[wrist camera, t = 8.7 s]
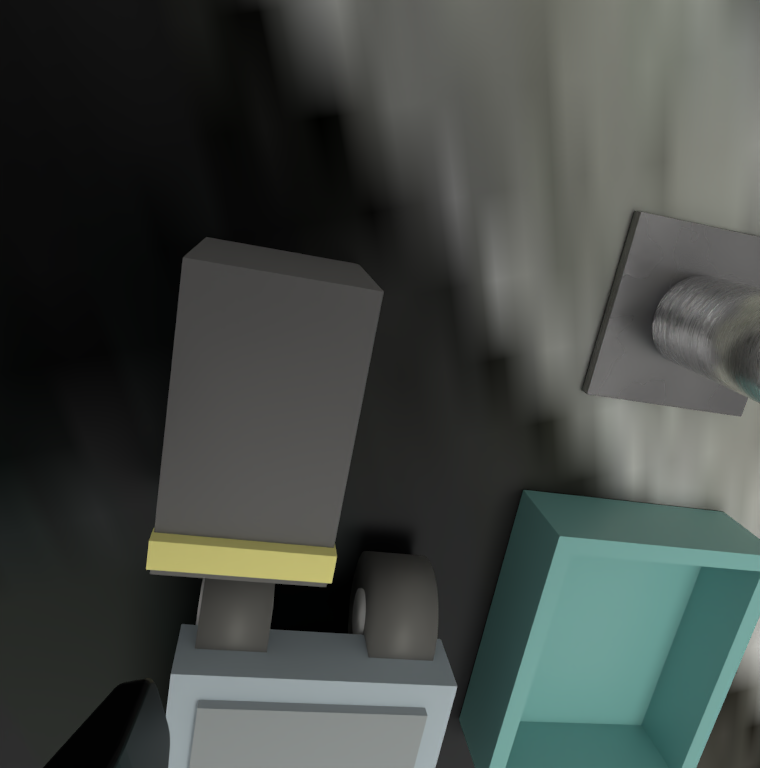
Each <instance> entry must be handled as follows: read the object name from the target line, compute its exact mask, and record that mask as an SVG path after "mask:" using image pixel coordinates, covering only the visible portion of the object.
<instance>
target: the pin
mask: <svg viewBox="0 0 760 768" xmlns="http://www.w3.org/2000/svg"><path fill="white" fill-rule="evenodd" d="M652 334H653V339H654V343H655V345H656V347H657V349H658V350H659V352H660V353H661V354H662V355H663V356H664V357H665V358H666V359H668V360H670V361H672V362H674V363H676V364H678V365H680V366H682V367H684V368H686V369H688V370H691V371H693V372H695V373H697V374H699V375H701V376H703V377H705V378H708V379H710V380H712V381H714V382H716V383H718V384H720V385H722V386H724V387H727V388H729V389H731V390H733V391H735V392H737V393H739V394H741V395H743V396H746V397H748V398H750V399H752V400H754V401H756V402H758V403H760V288H758V287H754V286H749V285H745V284H741V283H737V282H732V281H728V280H724V279H719V278H715V277H711V276H694V277H690V278H687V279H685V280H683V281H681V282H679V283H678V284H676V285H675V286H674V287H672V288H671V289H670V290H669V291H668V292H667V293H666V294H665V295H664V297H663V298H662V300H661V301H660V303H659V305H658V307H657V309H656V311H655V314H654V318H653V324H652Z"/></svg>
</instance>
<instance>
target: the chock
mask: <svg viewBox="0 0 760 768" xmlns="http://www.w3.org/2000/svg"><path fill="white" fill-rule="evenodd" d="M383 293H384V291H383V290H382V289H381V288H380V287H379V286H378V285H377V284H376V283H375V281H374V280H373V279H372V278H371V277H370V276H369V275H368V274H367V273H366V272H365V270H364V269H363V268H362V267H361V266H360V265H359V264H356V263H350V262H344V261H339V260H333V259H327V258H322V257H316V256H311V255H305V254H299V253H294V252H288V251H282V250H277V249H271V248H266V247H260V246H254V245H249V244H243V243H237V242H232V241H226V240H221V239H215V238H209V237H206V238H205V239H203V240H202V241H201V242H200V243H199V244H198V245H197V246H195V247H194V248H193V249H192V250H191V251H190V252H188V253H187V254H186V255H185V256H184V257H183V261H182V270H181V280H180V290H179V299H178V309H177V318H176V328H175V337H174V347H173V357H172V366H171V376H170V385H169V395H168V404H167V414H166V424H165V433H164V443H163V452H162V462H161V471H160V481H159V490H158V500H157V510H156V519H155V528H153V531H152V534H151V536H150V539H149V545H148V555H147V565H146V570H150V574H154V575H168V576H181V577H195V578H208V579H222V580H235V581H249V582H262V583H276V584H289V585H303V586H316V587H326V586H327V583H331V584H332V580H333V575H334V570H335V565H336V560H337V553H336V546H335V540H336V534H337V529H338V524H339V519H340V514H341V509H342V504H343V498H344V493H345V488H346V483H347V478H348V473H349V468H350V463H351V457H352V452H353V447H354V442H355V437H356V432H357V427H358V421H359V416H360V411H361V406H362V401H363V396H364V391H365V385H366V380H367V375H368V370H369V365H370V360H371V355H372V350H373V344H374V339H375V334H376V329H377V324H378V319H379V314H380V308H381V303H382V298H383Z"/></svg>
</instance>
